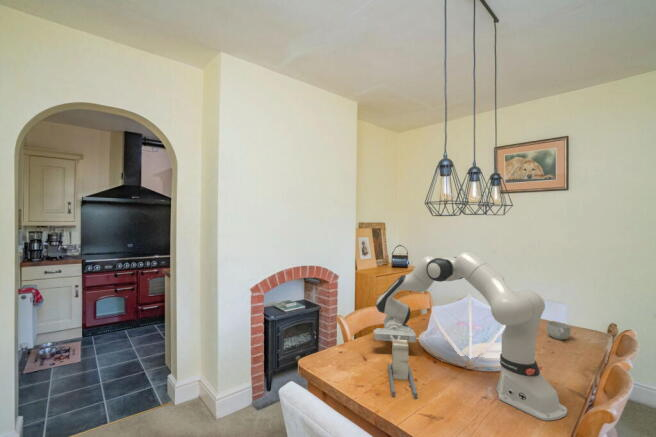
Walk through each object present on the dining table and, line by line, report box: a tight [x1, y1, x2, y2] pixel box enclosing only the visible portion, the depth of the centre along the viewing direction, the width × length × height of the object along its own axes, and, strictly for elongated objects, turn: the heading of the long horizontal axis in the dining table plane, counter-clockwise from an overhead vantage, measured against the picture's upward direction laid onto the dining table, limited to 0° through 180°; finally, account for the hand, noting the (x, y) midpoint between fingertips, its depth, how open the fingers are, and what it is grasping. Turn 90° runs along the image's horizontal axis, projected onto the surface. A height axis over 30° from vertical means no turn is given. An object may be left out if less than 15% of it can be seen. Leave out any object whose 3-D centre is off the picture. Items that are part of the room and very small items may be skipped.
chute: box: [387, 363, 418, 400], centre depth 127 cm, size 22×10×3 cm, turn 173°
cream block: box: [391, 339, 409, 381], centre depth 132 cm, size 6×6×14 cm
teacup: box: [546, 320, 572, 341], centre depth 176 cm, size 14×11×8 cm
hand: (396, 341), depth 148 cm, fingers closed
